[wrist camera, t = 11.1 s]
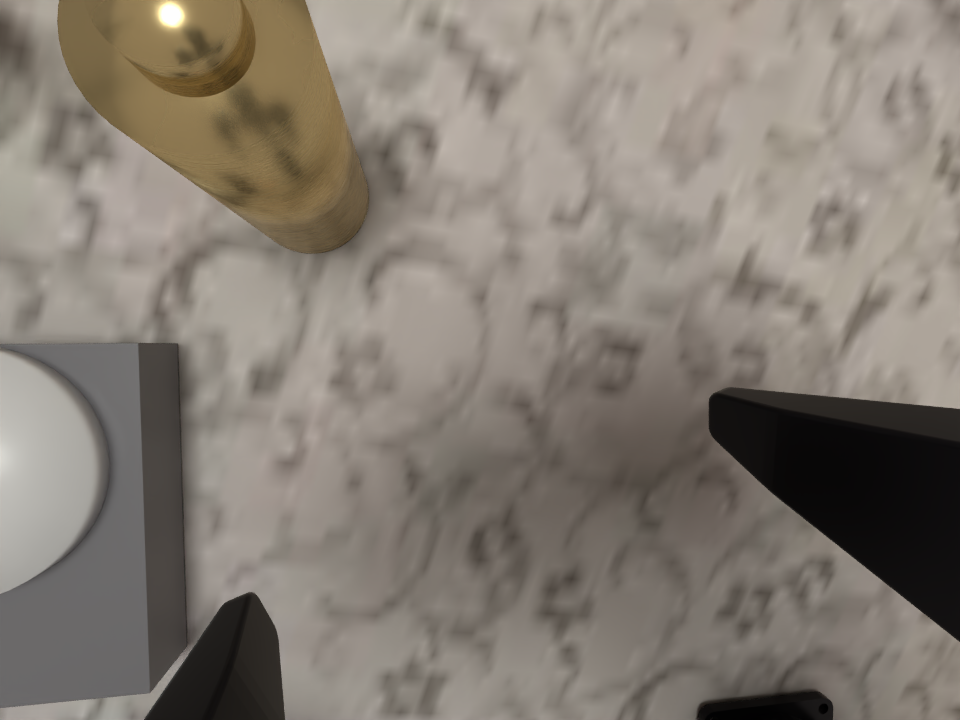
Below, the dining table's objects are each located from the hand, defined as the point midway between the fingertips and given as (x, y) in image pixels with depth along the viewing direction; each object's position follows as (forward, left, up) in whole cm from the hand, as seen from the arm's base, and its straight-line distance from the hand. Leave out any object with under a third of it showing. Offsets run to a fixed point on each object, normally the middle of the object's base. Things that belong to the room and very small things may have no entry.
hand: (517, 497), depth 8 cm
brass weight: (+6, -9, -11) cm, 15 cm away
